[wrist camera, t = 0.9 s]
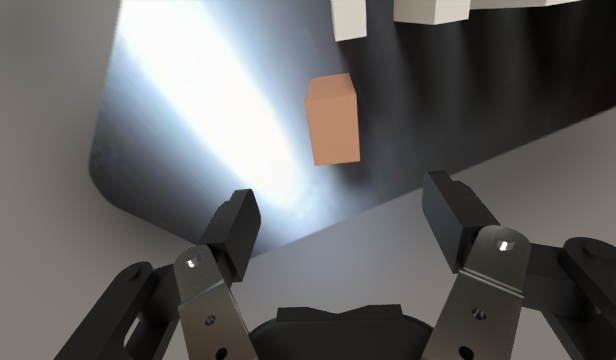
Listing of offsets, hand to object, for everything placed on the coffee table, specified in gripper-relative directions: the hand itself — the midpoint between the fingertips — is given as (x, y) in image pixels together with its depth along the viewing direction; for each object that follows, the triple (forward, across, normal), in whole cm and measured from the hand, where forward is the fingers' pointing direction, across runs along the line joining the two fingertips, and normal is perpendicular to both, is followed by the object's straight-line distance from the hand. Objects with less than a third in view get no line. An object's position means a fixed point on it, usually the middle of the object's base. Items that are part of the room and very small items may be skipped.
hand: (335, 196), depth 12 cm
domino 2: (+16, 0, 0) cm, 16 cm away
